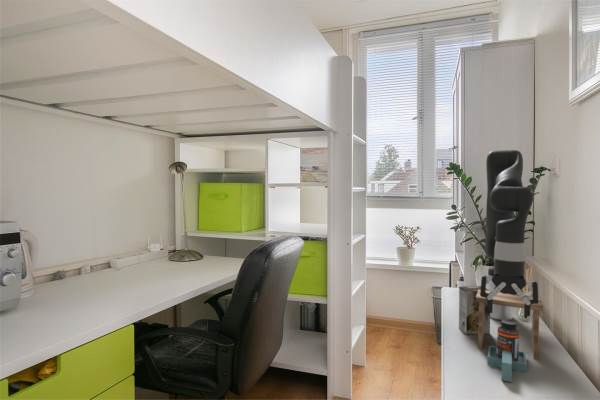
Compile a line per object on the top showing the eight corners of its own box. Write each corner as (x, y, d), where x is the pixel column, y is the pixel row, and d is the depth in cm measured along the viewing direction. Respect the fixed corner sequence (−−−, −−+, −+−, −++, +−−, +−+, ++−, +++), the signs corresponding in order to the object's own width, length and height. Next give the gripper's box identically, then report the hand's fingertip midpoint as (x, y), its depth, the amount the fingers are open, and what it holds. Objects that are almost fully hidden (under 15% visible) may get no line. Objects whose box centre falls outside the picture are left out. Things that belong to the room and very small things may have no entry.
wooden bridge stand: (477, 336, 137) (478, 289, 136) (539, 347, 128) (540, 297, 127) (474, 347, 127) (475, 297, 127) (541, 360, 118) (543, 306, 117)
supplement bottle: (493, 358, 117) (494, 321, 117) (499, 352, 121) (500, 317, 121) (515, 364, 113) (516, 326, 113) (520, 358, 117) (521, 321, 117)
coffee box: (481, 327, 145) (482, 285, 145) (490, 334, 139) (491, 290, 138) (457, 327, 145) (458, 285, 144) (465, 334, 139) (466, 290, 138)
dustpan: (488, 352, 124) (489, 337, 124) (525, 359, 119) (525, 343, 119) (485, 376, 107) (486, 359, 107) (527, 385, 102) (528, 367, 102)
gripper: (538, 258, 106) (536, 315, 107) (482, 253, 113) (480, 307, 114) (540, 262, 100) (538, 323, 100) (480, 257, 107) (479, 314, 107)
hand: (507, 314), depth 107 cm, fingers open, 8 cm apart
